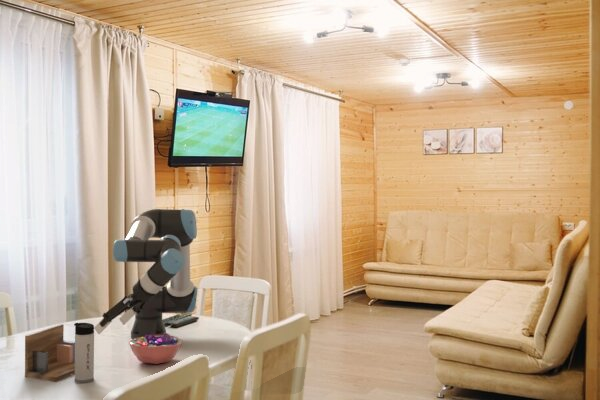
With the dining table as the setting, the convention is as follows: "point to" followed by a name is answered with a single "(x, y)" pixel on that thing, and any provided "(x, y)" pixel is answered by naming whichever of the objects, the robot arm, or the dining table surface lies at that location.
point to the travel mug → (84, 352)
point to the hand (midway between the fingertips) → (109, 326)
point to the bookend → (39, 362)
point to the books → (66, 351)
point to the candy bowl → (155, 348)
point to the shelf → (48, 343)
